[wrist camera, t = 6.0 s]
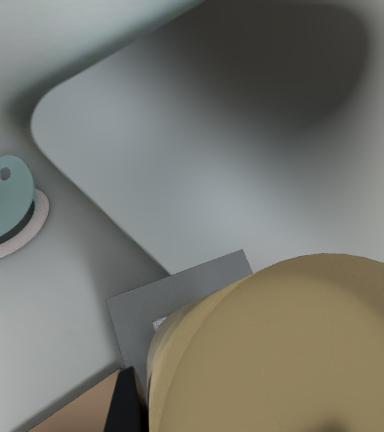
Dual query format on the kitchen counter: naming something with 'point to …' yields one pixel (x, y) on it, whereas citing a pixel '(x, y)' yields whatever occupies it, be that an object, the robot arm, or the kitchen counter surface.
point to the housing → (166, 304)
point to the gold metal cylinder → (275, 352)
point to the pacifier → (19, 203)
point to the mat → (82, 410)
